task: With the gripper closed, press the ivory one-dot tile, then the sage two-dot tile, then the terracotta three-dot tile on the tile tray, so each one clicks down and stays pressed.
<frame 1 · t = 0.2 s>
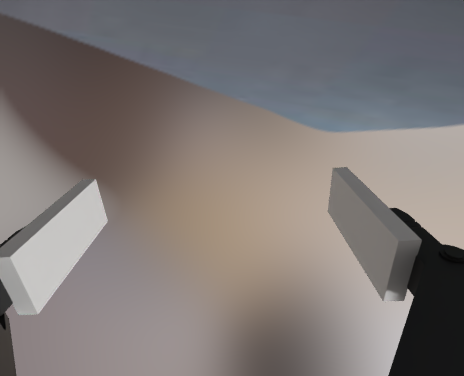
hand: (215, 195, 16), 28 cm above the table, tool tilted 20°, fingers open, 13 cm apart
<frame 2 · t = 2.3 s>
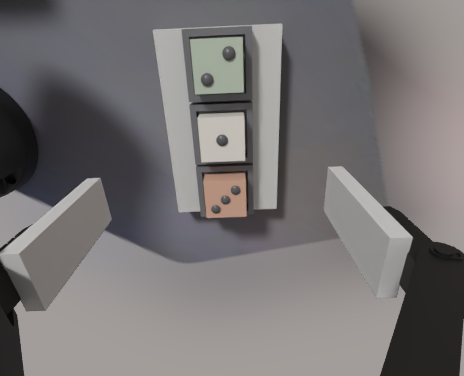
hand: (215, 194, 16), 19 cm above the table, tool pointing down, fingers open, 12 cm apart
three dot tile: (225, 195, 30), point 5 cm above the table, slide at 0.0 cm
two dot tile: (218, 66, 25), point 5 cm above the table, slide at 0.0 cm
one dot tile: (222, 137, 28), point 5 cm above the table, slide at 0.0 cm
tile tray: (223, 125, 33), on the table
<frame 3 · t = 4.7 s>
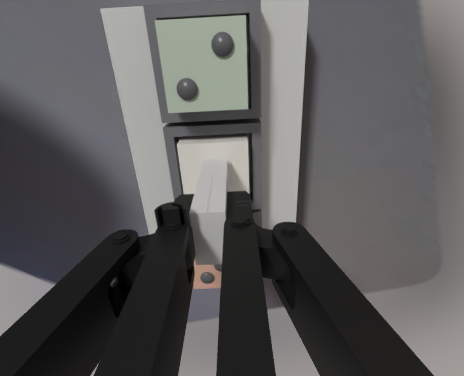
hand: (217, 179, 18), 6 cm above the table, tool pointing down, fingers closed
three dot tile: (221, 256, 21), point 5 cm above the table, slide at 0.0 cm
two dot tile: (205, 66, 15), point 5 cm above the table, slide at 0.0 cm
one dot tile: (215, 170, 19), point 4 cm above the table, slide at 1.1 cm, touching gripper
tile tray: (218, 150, 23), on the table
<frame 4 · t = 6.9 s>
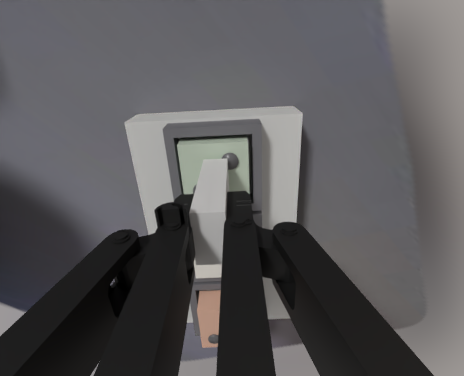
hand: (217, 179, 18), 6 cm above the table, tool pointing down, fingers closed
three dot tile: (226, 318, 23), point 5 cm above the table, slide at 0.0 cm
two dot tile: (215, 170, 19), point 4 cm above the table, slide at 1.2 cm, touching gripper
one dot tile: (222, 247, 22), point 4 cm above the table, slide at 1.3 cm
tile tray: (223, 218, 26), on the table
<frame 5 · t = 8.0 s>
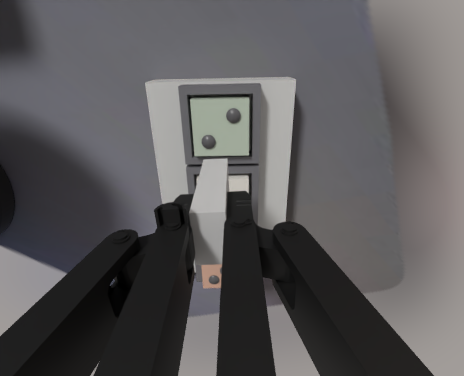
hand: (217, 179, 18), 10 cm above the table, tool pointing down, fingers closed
three dot tile: (225, 263, 27), point 5 cm above the table, slide at 0.0 cm
two dot tile: (221, 126, 22), point 4 cm above the table, slide at 1.3 cm
one dot tile: (223, 197, 25), point 4 cm above the table, slide at 1.3 cm
tile tray: (224, 179, 29), on the table
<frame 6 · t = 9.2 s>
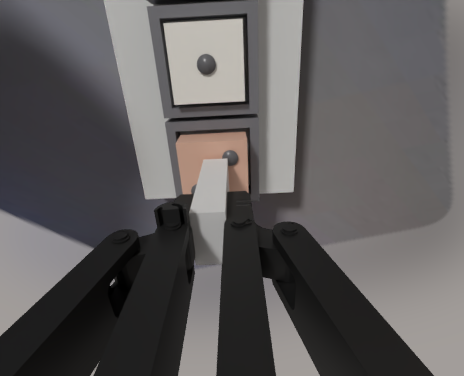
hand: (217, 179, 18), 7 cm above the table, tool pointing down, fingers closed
three dot tile: (214, 169, 19), point 5 cm above the table, slide at 0.0 cm, touching gripper
one dot tile: (207, 63, 17), point 4 cm above the table, slide at 1.3 cm
tile tray: (211, 62, 21), on the table
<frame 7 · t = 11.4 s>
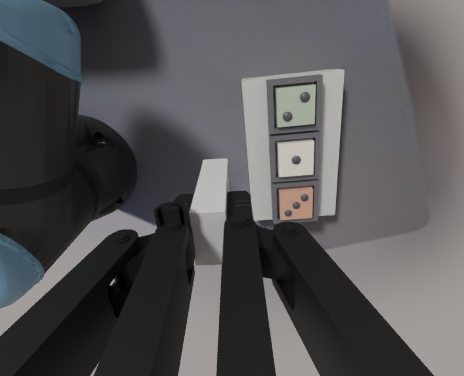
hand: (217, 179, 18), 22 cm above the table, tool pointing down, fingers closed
three dot tile: (294, 201, 38), point 4 cm above the table, slide at 1.3 cm
two dot tile: (294, 105, 33), point 4 cm above the table, slide at 1.3 cm
one dot tile: (294, 157, 36), point 4 cm above the table, slide at 1.3 cm
tile tray: (289, 147, 40), on the table
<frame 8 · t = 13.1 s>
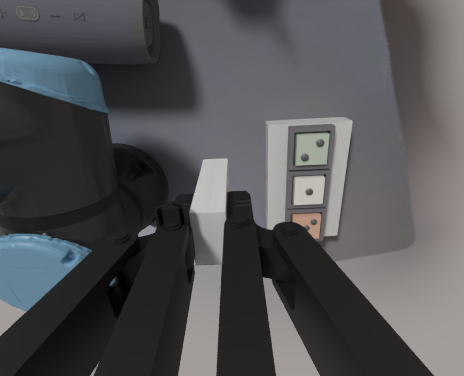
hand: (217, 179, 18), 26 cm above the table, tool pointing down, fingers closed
three dot tile: (305, 224, 45), point 4 cm above the table, slide at 1.3 cm
two dot tile: (310, 148, 40), point 4 cm above the table, slide at 1.3 cm
one dot tile: (307, 189, 43), point 4 cm above the table, slide at 1.3 cm
bluetooth speaker: (77, 23, 37), on the table
tile tray: (301, 178, 46), on the table
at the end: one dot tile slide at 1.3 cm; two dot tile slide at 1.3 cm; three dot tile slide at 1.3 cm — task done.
